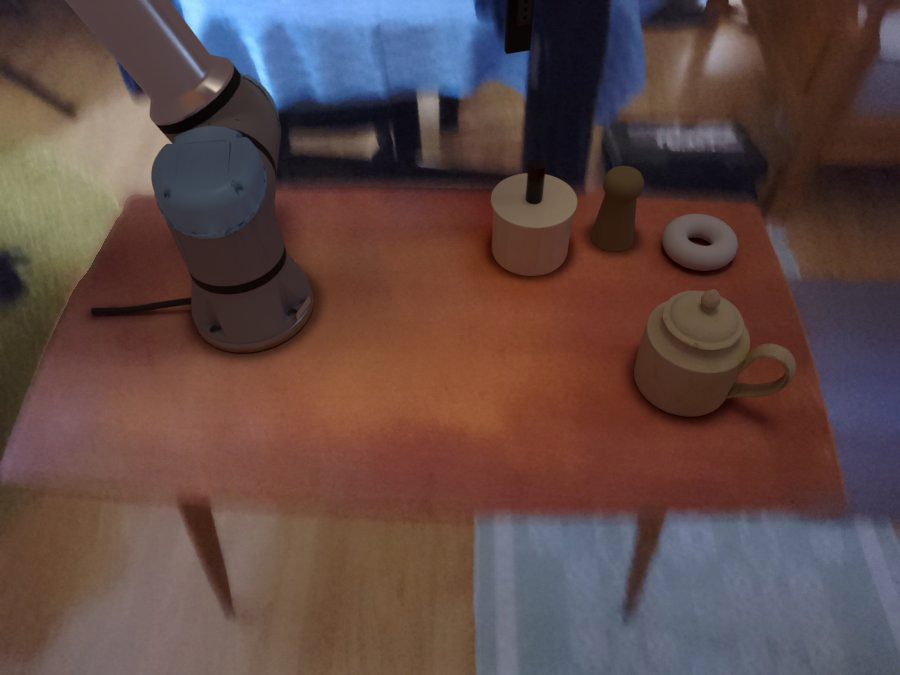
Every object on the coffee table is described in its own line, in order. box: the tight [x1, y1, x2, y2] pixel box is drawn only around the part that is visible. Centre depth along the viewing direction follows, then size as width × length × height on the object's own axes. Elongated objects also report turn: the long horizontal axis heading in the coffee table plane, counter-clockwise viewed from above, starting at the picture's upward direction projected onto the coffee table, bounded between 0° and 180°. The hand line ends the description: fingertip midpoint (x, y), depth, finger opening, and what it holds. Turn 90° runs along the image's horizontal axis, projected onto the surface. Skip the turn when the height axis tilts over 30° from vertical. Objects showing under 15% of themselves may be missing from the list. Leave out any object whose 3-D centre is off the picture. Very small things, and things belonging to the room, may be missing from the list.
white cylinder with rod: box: [490, 157, 578, 230], centre depth 87 cm, size 11×11×7 cm
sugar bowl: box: [633, 288, 797, 418], centre depth 74 cm, size 15×11×15 cm
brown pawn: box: [590, 165, 645, 253], centre depth 92 cm, size 6×6×11 cm
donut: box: [661, 213, 739, 272], centre depth 93 cm, size 10×4×10 cm
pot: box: [491, 210, 574, 277], centre depth 92 cm, size 10×10×8 cm
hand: (497, 23), depth 78 cm, fingers open, 13 cm apart
